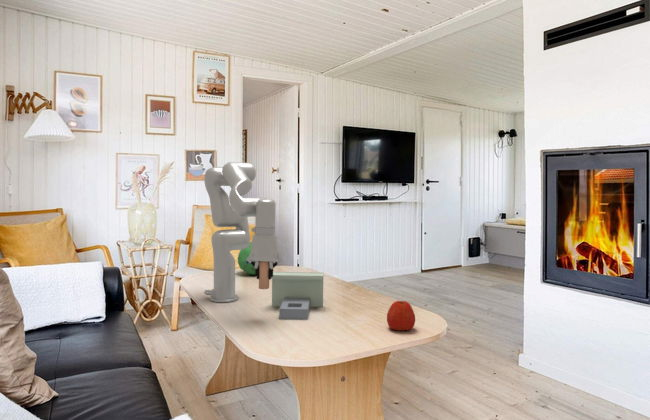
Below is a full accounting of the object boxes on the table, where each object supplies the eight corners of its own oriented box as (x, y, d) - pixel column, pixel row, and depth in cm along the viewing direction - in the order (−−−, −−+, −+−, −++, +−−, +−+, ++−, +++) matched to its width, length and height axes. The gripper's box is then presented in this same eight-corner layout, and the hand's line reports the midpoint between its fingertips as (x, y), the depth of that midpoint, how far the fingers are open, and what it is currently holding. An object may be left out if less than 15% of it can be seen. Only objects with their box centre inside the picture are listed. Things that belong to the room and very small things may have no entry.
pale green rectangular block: (270, 309, 183) (270, 275, 182) (272, 305, 190) (272, 271, 189) (322, 310, 182) (323, 275, 182) (323, 305, 189) (323, 272, 188)
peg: (257, 289, 167) (258, 258, 166) (259, 286, 171) (260, 256, 170) (268, 289, 167) (268, 258, 166) (269, 286, 171) (270, 256, 170)
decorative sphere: (266, 285, 254) (250, 270, 239) (241, 274, 264) (224, 259, 249) (282, 257, 261) (268, 241, 246) (258, 248, 271) (242, 232, 256)
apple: (396, 335, 153) (396, 305, 152) (381, 326, 162) (381, 298, 162) (420, 331, 157) (421, 302, 156) (404, 323, 166) (404, 296, 166)
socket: (279, 318, 170) (279, 308, 170) (284, 306, 187) (284, 297, 187) (307, 319, 170) (307, 309, 169) (310, 307, 187) (310, 297, 187)
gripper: (241, 231, 164) (240, 280, 165) (285, 233, 163) (284, 281, 165) (245, 229, 171) (244, 275, 173) (287, 231, 171) (286, 277, 172)
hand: (264, 278), depth 169 cm, fingers closed on peg, 4 cm apart
